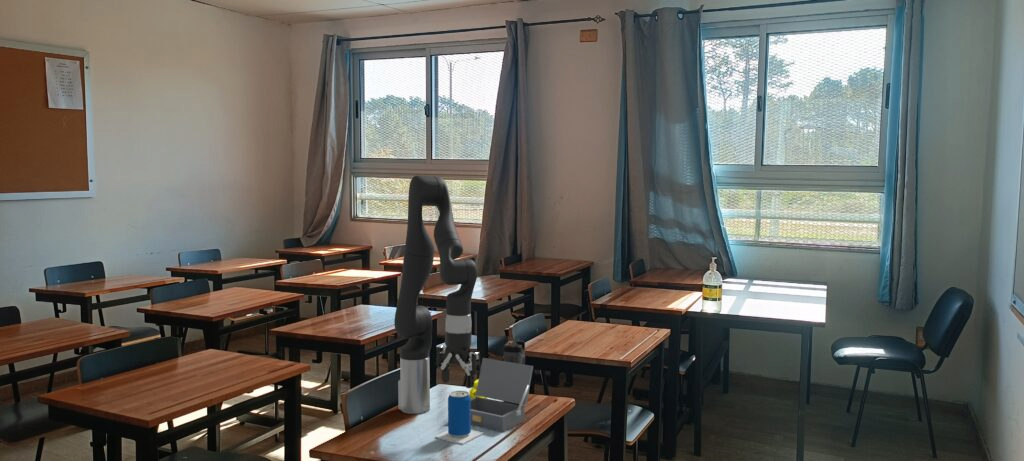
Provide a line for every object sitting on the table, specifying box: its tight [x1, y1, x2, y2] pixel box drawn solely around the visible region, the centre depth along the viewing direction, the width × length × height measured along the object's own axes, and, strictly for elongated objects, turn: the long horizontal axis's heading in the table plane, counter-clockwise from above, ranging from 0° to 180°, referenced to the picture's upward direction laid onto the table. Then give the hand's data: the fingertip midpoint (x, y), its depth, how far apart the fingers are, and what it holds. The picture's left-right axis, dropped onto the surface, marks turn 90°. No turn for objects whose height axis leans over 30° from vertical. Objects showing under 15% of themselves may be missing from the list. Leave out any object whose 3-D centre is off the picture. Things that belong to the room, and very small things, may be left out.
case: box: [471, 357, 534, 433], centre depth 220 cm, size 19×17×16 cm
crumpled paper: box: [469, 378, 488, 399], centre depth 238 cm, size 6×8×8 cm
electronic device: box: [503, 339, 526, 405], centre depth 236 cm, size 9×6×20 cm, turn 168°
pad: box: [434, 429, 485, 446], centre depth 207 cm, size 10×10×1 cm
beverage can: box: [447, 390, 472, 438], centre depth 206 cm, size 6×6×12 cm
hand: (457, 384), depth 206 cm, fingers open, 8 cm apart
